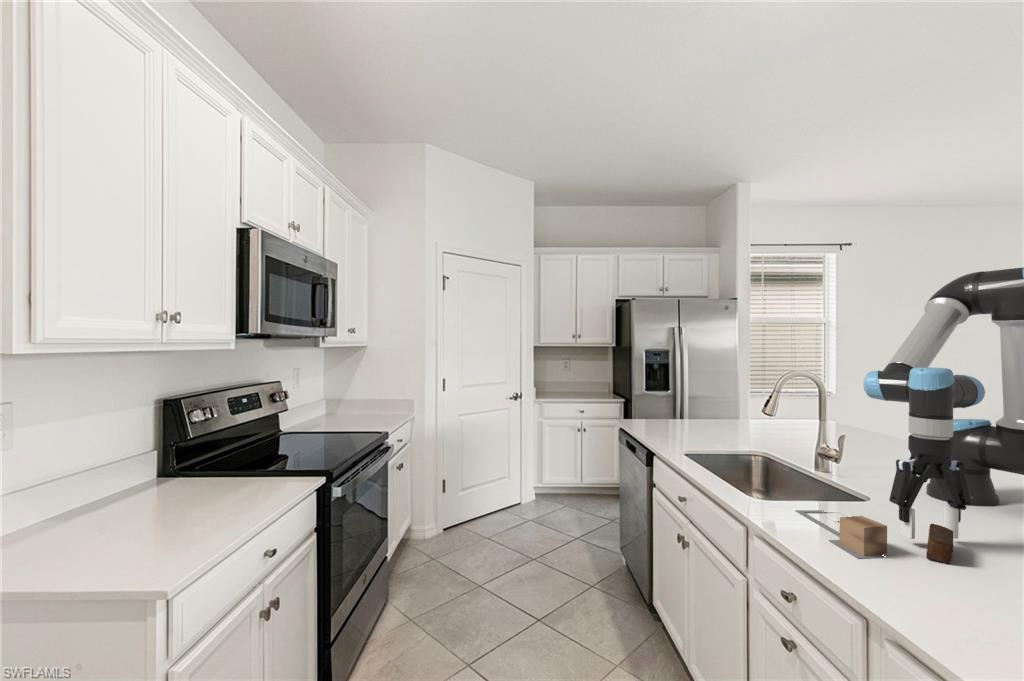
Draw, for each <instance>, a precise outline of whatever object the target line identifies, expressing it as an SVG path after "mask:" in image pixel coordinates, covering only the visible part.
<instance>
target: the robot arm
mask: <svg viewBox="0 0 1024 681" xmlns="http://www.w3.org/2000/svg"><path fill="white" fill-rule="evenodd" d="M976 315H990V316H991V322H992V323H993V324H995V325H996V326H998V327H999V333H1000V334H999V335H1000V336H999V337H1000V359H1001V362H1000V363H1001V380H1002V381H1001V382H1002V406H1003V407H1002V408H1003V409H1002V411H1003V416H1002V417H1001V418H999V419H998V420H997V421H996V422H995V426H994V425H992V422H991V420H989V419H983V418H982V419H980V418H954V409H959V408H961V409H966V408H969V407H973V406H976V405H978V404H979V403H981V402H982V401H983V399H984V398H985V396H986V390H985V387H984V384H983V383H982V382H981V381H980V380H978V378H976V377H974V376H970V375H966V374H965V375H964V374H954V372H953V370H952V369H950V368H947V367H946V368H945V367H930V365H932V362H933V361H934V360H935V358H936V357H937V355H938V354H939V353H940V351H941V350H942V348H943V347H944V346H945V344H946V342H947V341H948V339H949V338H950V336H951V335H952V334H953V332H954V331H955V329H956V328H957V326H958V325H961V324H964V323H965V322H966V321H967V320H968V318H969V317H971V316H976ZM862 385H863V390H864V392H865V394H866V395H867V397H869V398H871V399H874V400H879V401H886V402H897V403H898V402H899V403H908V432H909V433H910V434H909V435H908V444H907V445H908V446H907V447H908V448H907V449H908V451H909V452H910V457H909V458H908V459H907V460H902V459H896V460H895V468H896V471H895V476H894V479H893V483H892V488H891V491H890V496H889V499H888V500H889V502H890V503H892V504H895V505H897V506H898V519H899V521H901V522H900V523H901V526H900V530H901V532H900V533H901V535H903V536H905V537H907V538H909V539H913V540H915V539H916V534H915V533H916V509H915V508H912V506H913V505H914V503H915V501H916V499H917V497H918V495H919V493H920V491H921V489H922V487H923V486H924V484H925V483H927V482H928V480H929V483H927V484H926V495H927V496H929V497H931V498H933V499H935V500H939V501H942V502H946V503H947V504H944V505H943V527H946V528H948V529H950V530H952V531H953V539H956V540H957V539H959V526H960V525H959V523H961V520H962V518H961V517H962V511H965V510H967V507H969V506H971V507H995V506H998V505H1000V497H999V495H998V493H996V492H997V491H996V490H995V485H994V483H993V480H992V478H991V469H992V470H997V471H1001V472H1006V473H1011V474H1018V475H1022V476H1024V267H1016V268H1005V269H995V270H987V271H986V270H985V271H975V272H974V271H973V272H971V273H967V274H964V275H962V276H960V277H957V278H955V279H953V280H952V281H950V282H947V284H945V285H944V286H942V287H940V289H938V290H937V291H936V292H935V293H934V294H933V295H932V296H931V297H930V298H928V301H927V302H926V303H925V305H924V314H923V315H922V316H921V317H920V319H919V320H918V322H917V323H916V324H915V326H914V327H913V329H912V330H911V331H910V333H909V334H908V336H907V337H906V338H905V340H904V341H903V342H902V344H901V346H900V347H899V348H898V349H897V351H896V352H895V354H894V355H893V357H892V358H891V359H890V360H889V362H888V363H887V365H886V366H885V368H884V369H883V370H880V369H879V370H871V371H869V372H867V373H866V374H865V376H864V379H863V384H862Z"/></svg>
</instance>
